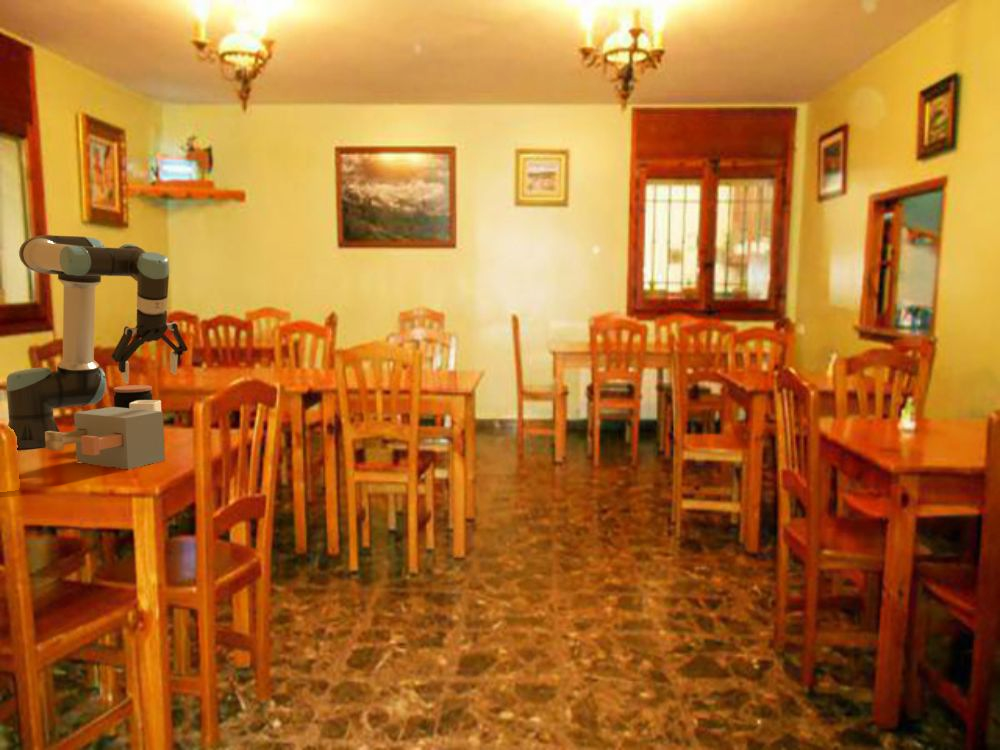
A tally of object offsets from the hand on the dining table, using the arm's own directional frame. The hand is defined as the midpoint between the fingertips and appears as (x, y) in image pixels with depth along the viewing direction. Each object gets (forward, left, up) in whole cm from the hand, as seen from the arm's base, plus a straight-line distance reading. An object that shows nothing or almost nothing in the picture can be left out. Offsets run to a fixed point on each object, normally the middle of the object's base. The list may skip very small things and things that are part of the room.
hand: (149, 377), depth 209 cm
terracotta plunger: (+5, -18, -17) cm, 25 cm away
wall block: (-2, -9, -23) cm, 25 cm away
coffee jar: (-18, +9, -23) cm, 31 cm away
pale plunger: (-9, -18, -17) cm, 26 cm away
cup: (-7, +4, -23) cm, 25 cm away
